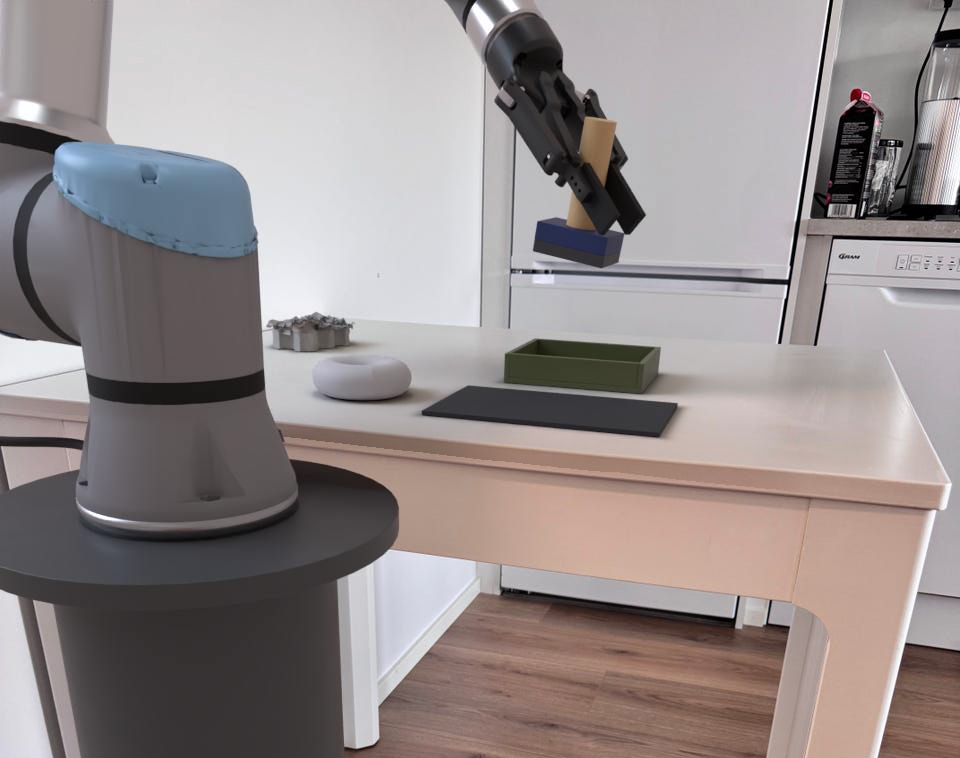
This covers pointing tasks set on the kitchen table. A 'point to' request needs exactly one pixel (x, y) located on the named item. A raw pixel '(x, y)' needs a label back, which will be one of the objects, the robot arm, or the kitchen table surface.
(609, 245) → the brush
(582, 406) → the mat
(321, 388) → the donut
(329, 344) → the egg carton
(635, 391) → the tray
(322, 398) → the kitchen table surface
